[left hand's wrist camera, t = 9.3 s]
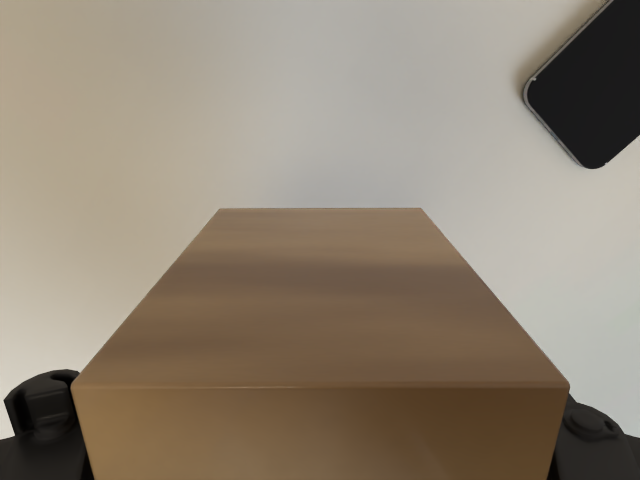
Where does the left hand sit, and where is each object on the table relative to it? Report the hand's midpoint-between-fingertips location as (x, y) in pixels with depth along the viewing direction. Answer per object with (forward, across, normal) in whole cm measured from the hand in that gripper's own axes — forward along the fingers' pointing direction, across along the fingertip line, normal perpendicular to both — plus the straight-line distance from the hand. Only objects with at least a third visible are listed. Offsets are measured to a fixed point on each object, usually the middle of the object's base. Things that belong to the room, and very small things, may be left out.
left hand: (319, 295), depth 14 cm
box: (+1, 0, -8) cm, 8 cm away
